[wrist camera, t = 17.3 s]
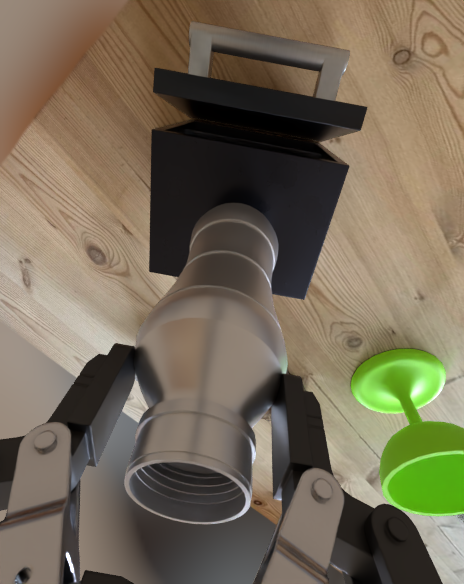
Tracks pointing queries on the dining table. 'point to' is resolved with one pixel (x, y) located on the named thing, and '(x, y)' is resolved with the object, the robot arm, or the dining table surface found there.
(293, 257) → the oven
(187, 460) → the silver bottle
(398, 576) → the robot arm
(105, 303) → the dining table surface
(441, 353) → the dining table surface
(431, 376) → the wineglass
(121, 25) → the dining table surface
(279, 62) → the oven door
